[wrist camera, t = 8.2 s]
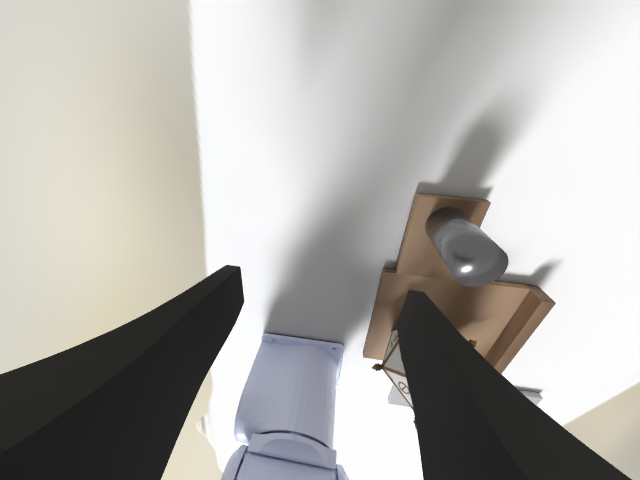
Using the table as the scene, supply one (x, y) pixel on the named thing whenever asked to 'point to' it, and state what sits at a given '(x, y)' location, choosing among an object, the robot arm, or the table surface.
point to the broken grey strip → (398, 399)
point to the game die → (398, 366)
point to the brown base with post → (457, 281)
